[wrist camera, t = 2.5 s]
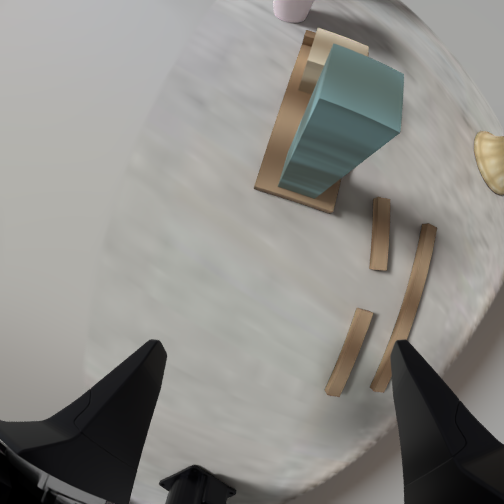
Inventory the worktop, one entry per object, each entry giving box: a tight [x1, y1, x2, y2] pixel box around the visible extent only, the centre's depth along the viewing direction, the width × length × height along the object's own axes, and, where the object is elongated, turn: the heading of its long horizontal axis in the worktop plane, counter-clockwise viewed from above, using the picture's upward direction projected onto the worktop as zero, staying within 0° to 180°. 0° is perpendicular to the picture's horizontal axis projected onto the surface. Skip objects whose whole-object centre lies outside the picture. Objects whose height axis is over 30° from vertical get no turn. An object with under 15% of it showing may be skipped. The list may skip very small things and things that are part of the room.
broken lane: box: [325, 197, 437, 397], centre depth 21 cm, size 18×7×1 cm, turn 163°
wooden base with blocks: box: [254, 30, 404, 214], centre depth 15 cm, size 17×6×14 cm, turn 163°
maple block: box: [298, 28, 369, 94], centre depth 18 cm, size 4×4×4 cm
